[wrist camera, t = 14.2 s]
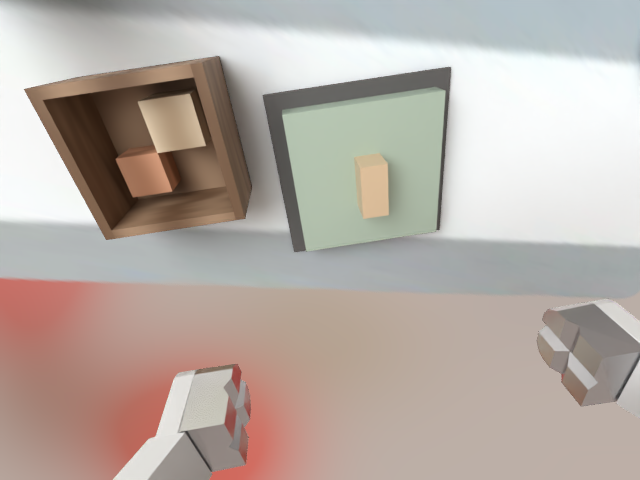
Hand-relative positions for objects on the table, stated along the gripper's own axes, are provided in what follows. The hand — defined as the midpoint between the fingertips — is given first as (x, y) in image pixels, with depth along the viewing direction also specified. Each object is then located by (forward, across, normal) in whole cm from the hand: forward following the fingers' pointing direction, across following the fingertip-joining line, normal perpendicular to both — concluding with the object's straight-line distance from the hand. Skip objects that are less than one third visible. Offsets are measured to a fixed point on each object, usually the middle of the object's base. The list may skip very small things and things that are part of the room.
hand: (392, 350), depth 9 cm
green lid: (+27, -4, +6) cm, 28 cm away
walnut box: (+27, +13, -1) cm, 30 cm away
